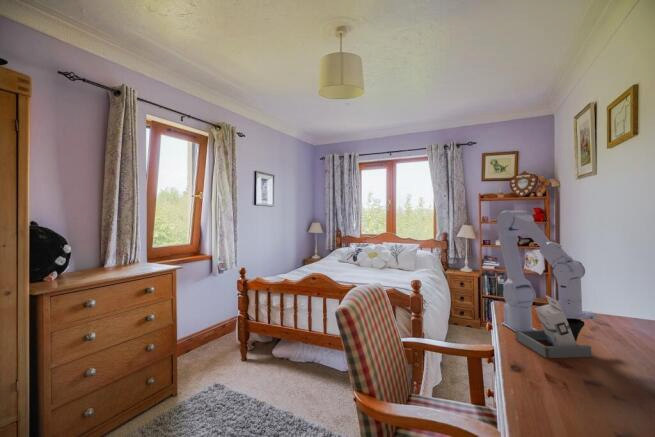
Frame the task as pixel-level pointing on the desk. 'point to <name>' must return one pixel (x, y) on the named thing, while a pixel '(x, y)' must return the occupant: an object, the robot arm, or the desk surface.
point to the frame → (550, 351)
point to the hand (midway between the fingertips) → (571, 342)
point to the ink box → (555, 324)
